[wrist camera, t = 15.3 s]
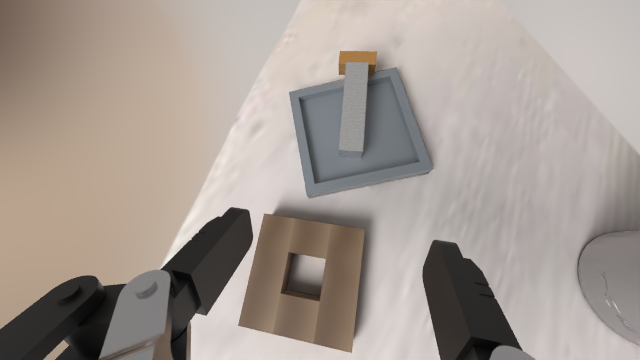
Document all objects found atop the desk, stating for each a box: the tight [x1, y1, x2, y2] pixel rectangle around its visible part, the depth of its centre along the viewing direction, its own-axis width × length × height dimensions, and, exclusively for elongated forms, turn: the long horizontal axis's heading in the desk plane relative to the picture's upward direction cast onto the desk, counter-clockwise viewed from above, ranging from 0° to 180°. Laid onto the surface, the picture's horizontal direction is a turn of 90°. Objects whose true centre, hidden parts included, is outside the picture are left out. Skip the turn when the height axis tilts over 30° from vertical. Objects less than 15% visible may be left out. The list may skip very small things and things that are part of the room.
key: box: [339, 51, 376, 158], centre depth 25 cm, size 4×2×12 cm
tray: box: [289, 67, 433, 198], centre depth 25 cm, size 13×13×2 cm
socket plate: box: [238, 214, 365, 353], centre depth 21 cm, size 10×10×2 cm
